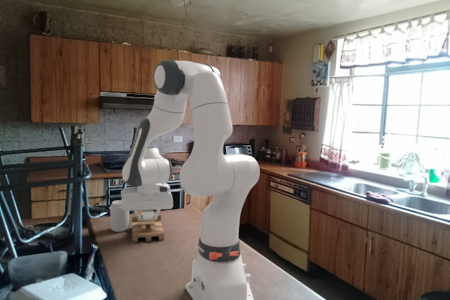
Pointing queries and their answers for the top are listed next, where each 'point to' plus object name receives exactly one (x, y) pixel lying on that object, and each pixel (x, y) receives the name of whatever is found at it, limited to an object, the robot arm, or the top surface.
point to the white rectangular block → (147, 214)
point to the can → (118, 217)
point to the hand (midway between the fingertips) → (147, 219)
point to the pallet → (147, 222)
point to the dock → (146, 230)
